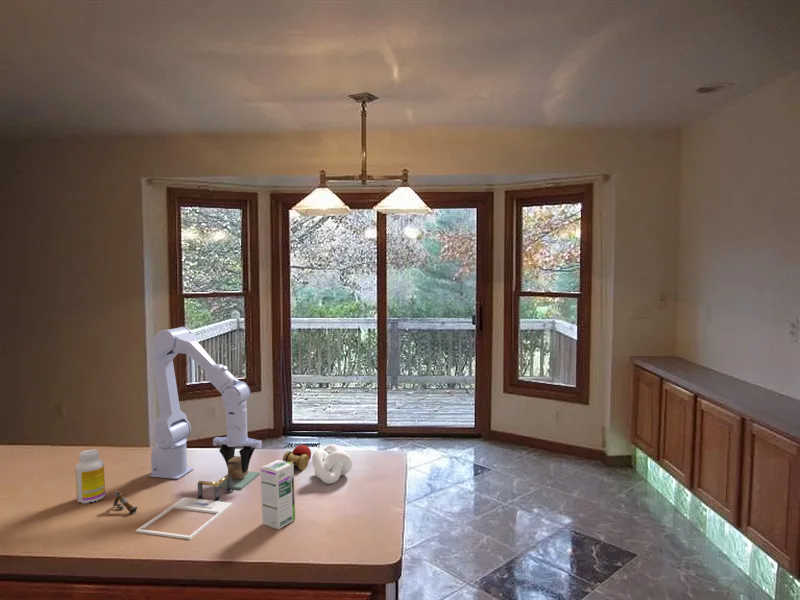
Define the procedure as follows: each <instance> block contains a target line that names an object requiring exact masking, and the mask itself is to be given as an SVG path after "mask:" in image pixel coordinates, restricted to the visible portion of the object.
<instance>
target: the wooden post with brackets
mask: <svg viewBox="0 0 800 600" xmlns="http://www.w3.org/2000/svg"><path fill="white" fill-rule="evenodd" d="M114 496H115V498H114V500H113V505H112V506H113V507H116V509H118V510H119V511H123V510H124V507H125V508H126V510H127V511H128V515H129V514H130V515H132V514H134V513H136V512H137V509H138V506H133V505H132V504H130V503H129V501H128V499H126V498H125V497H124V496H123V495H122V493H121V491H119V490H118V491H117V490H115V491H114ZM119 502H120V503H119ZM120 509H121V510H120ZM133 512H134V513H133ZM131 513H132V514H131Z"/></svg>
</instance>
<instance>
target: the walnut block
mask: <svg viewBox="0 0 800 600" xmlns="http://www.w3.org/2000/svg"><path fill="white" fill-rule="evenodd" d="M248 471H249V470H248ZM248 471H246V472H245V473H243V472H242V461H241V456H237V455H234V457H233V458H231V459H230V460H229V461H228V468H227V474H230V475H231V478H234V479H242V478H243V477H244V476H245V475H247V474H248Z"/></svg>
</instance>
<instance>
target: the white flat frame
mask: <svg viewBox="0 0 800 600" xmlns="http://www.w3.org/2000/svg"><path fill="white" fill-rule="evenodd" d="M233 505H234V503H233V502H230V501H229V502H227V501H222V500H221V501H213V500H211V499H205V498H204V499H196V498H194V497H184V496H183V498H181V499H179V500H177V501H176V502H175V503H174V504H172V505H171V506H169V507H168V508H166V509H165V510H163V511H162V512H160V513H159V514H158V515H156V516H154V517H153V518H152V519H150V520H149V521H147V522H146V523H144V524H143V525H141V526H140V527H139V528H137V529H135V532H136V533H140V534H146V535H147V534H148V535H153V536H155V535H156V536H163V537H169V538H177V539H184V540H188V541H189V540H192V539H193V538H194V537H196V536H197V535H198V534H199V533H201V531H203V530H204V529H205V528H207V527H208V526H209V525H211V524H212V523H213V522H214V521H215V520H216V519H217V518H219V517H220V516H222V515H223V514H224V513H225V512H227V510H228V509H230V508H231V507H232V506H233ZM173 509H176V510H184V511H191V512H201V513H208V514H209V513H210V514H215V515H213V516H212V517H211V518H210V519H209V520H207V521H206V522H205V523H204V524H202V525H201V526H199V527H198V528H197V529H196V530H195V531H193V533H191V534H190V535H187V534H181V533H171V532H167V531H166V532H165V531H159V530H158V531H156V530H152V529H151V530H150V529H145V528H148V527H149V526H150V525H151V524H153V523H154V522H156V521H158V519H160V518H162V517H163V516H164V515H165V514H167V513H169V512H170V511H171V510H173Z"/></svg>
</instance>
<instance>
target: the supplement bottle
mask: <svg viewBox="0 0 800 600" xmlns="http://www.w3.org/2000/svg"><path fill="white" fill-rule="evenodd" d="M78 459H79V462H77V464H76V465H75V467H74V468H75V489H76V501H77V502H78V503H79V502H81V503H80V504H90V503H89V502H93V503H95V502H94V501H96V502H98V500H99V501H100V499H101V500H102V499H103V498H105V496H106V483H105V482H106V480H105V463H104V461H103V459H101V458H100V451H99V450H98V449H87V450H82V451H81V452H79V454H78Z"/></svg>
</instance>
